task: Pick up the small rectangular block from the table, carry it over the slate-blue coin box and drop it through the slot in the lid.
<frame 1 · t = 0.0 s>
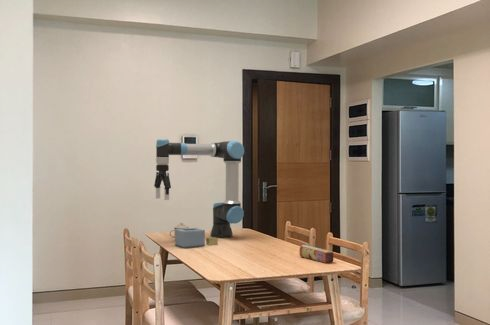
hand: (162, 199, 313), 28 cm above the table, tool pointing down, fingers open, 13 cm apart
teacup with lid: (179, 241, 328), on the table
coin box: (189, 246, 310), on the table
rectangular block: (211, 244, 316), on the table
snack package: (316, 260, 270), on the table
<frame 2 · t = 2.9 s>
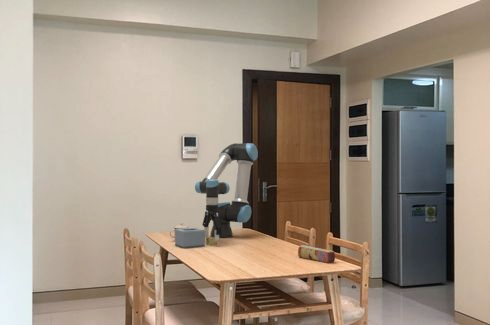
hand: (211, 239, 316), 4 cm above the table, tool pointing down, fingers open, 13 cm apart
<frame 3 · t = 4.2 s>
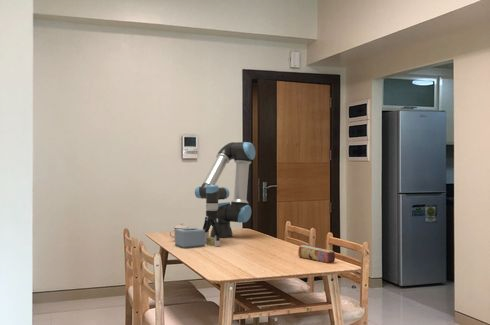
hand: (211, 244, 316), 0 cm above the table, tool pointing down, fingers open, 13 cm apart
nothing on the table moved.
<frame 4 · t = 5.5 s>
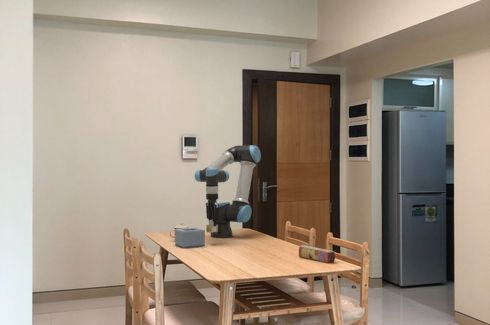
hand: (212, 230, 317), 8 cm above the table, tool pointing down, fingers closed on rectangular block, 3 cm apart
rectangular block: (212, 231, 316), point 8 cm above the table, touching gripper
everything else where it was.
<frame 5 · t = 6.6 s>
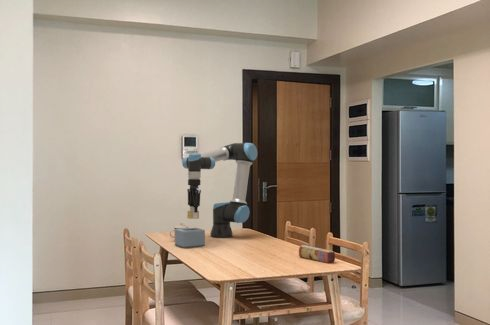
hand: (193, 217, 311), 17 cm above the table, tool pointing down, fingers closed on rectangular block, 3 cm apart
rectangular block: (193, 218, 310), point 17 cm above the table, touching gripper
everything else where it was.
when the fingers open (11 cm above the table, at t = 8.1 s): rectangular block drops 8 cm and tips over, resting on coin box.
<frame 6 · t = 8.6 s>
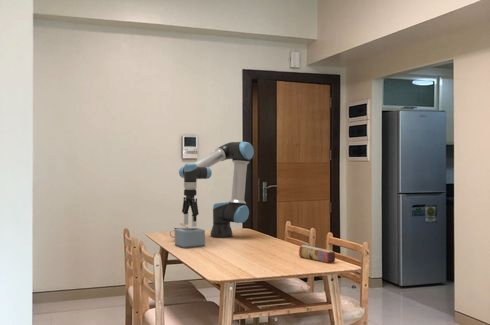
hand: (190, 225, 310), 12 cm above the table, tool pointing down, fingers open, 10 cm apart
rectangular block: (190, 242, 310), point 2 cm above the table, tilted 49°, touching coin box
everything else where it was.
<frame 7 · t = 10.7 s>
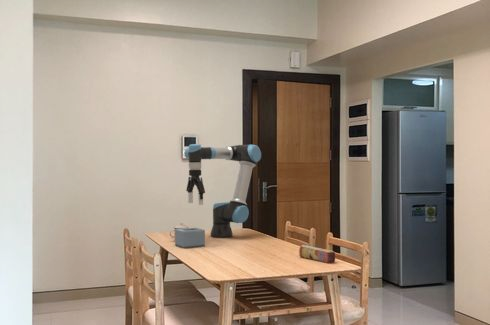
hand: (195, 203, 315), 25 cm above the table, tool pointing down, fingers open, 13 cm apart
nothing on the table moved.
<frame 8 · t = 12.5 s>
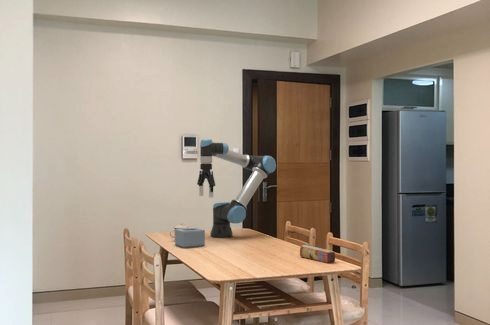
hand: (205, 196, 327), 29 cm above the table, tool pointing down, fingers open, 13 cm apart
nothing on the table moved.
at the end: rectangular block inside the target area on the coin box (0.5 cm from its centre), point 2.3 cm above the coin box's base; the gripper is holding nothing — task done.
